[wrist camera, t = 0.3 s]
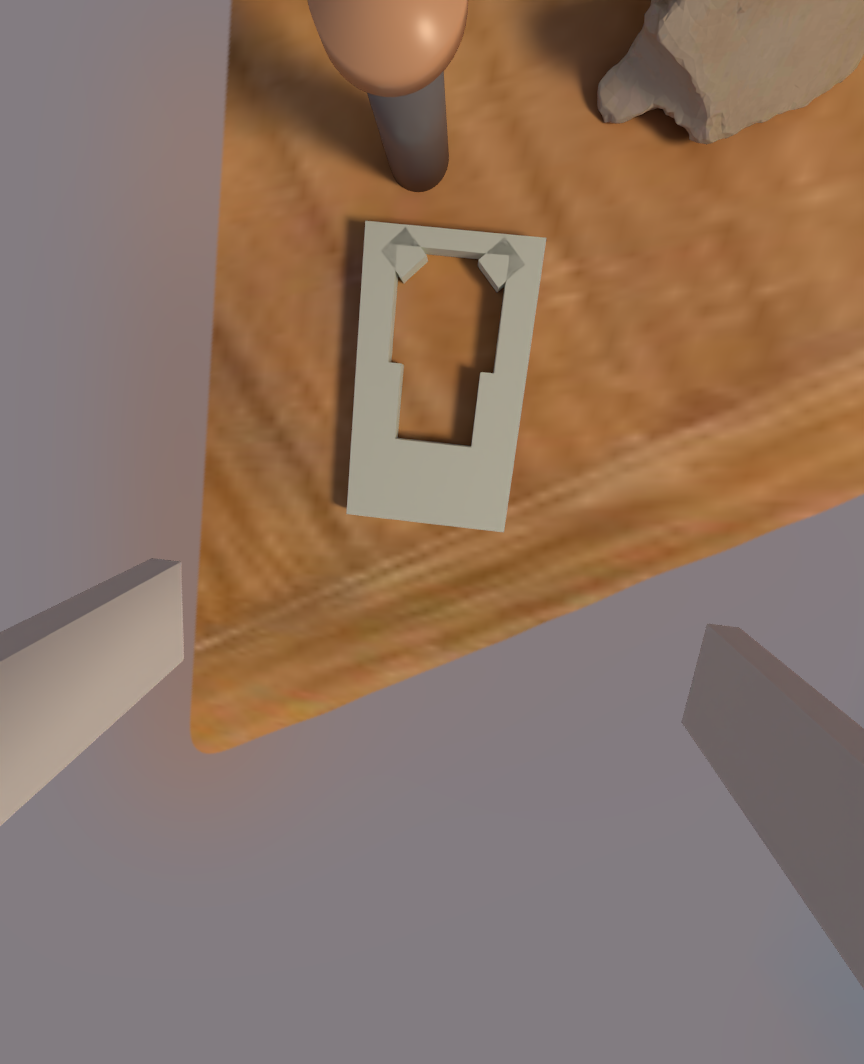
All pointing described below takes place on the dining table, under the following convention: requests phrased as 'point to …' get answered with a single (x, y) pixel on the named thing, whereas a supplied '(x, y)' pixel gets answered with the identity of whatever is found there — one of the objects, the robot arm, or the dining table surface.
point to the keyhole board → (376, 451)
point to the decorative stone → (733, 61)
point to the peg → (398, 73)
